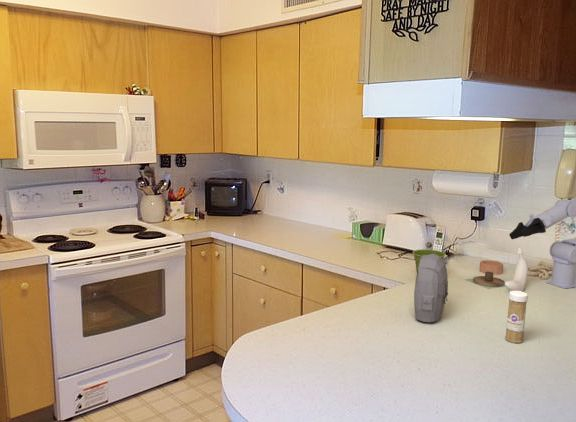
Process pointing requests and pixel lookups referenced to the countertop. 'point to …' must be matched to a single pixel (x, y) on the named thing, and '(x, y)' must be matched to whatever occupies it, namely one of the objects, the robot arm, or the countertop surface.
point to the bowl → (491, 267)
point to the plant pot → (420, 253)
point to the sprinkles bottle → (516, 316)
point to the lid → (488, 280)
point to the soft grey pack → (430, 288)
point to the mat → (482, 285)
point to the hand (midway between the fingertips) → (516, 235)
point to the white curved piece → (518, 274)
